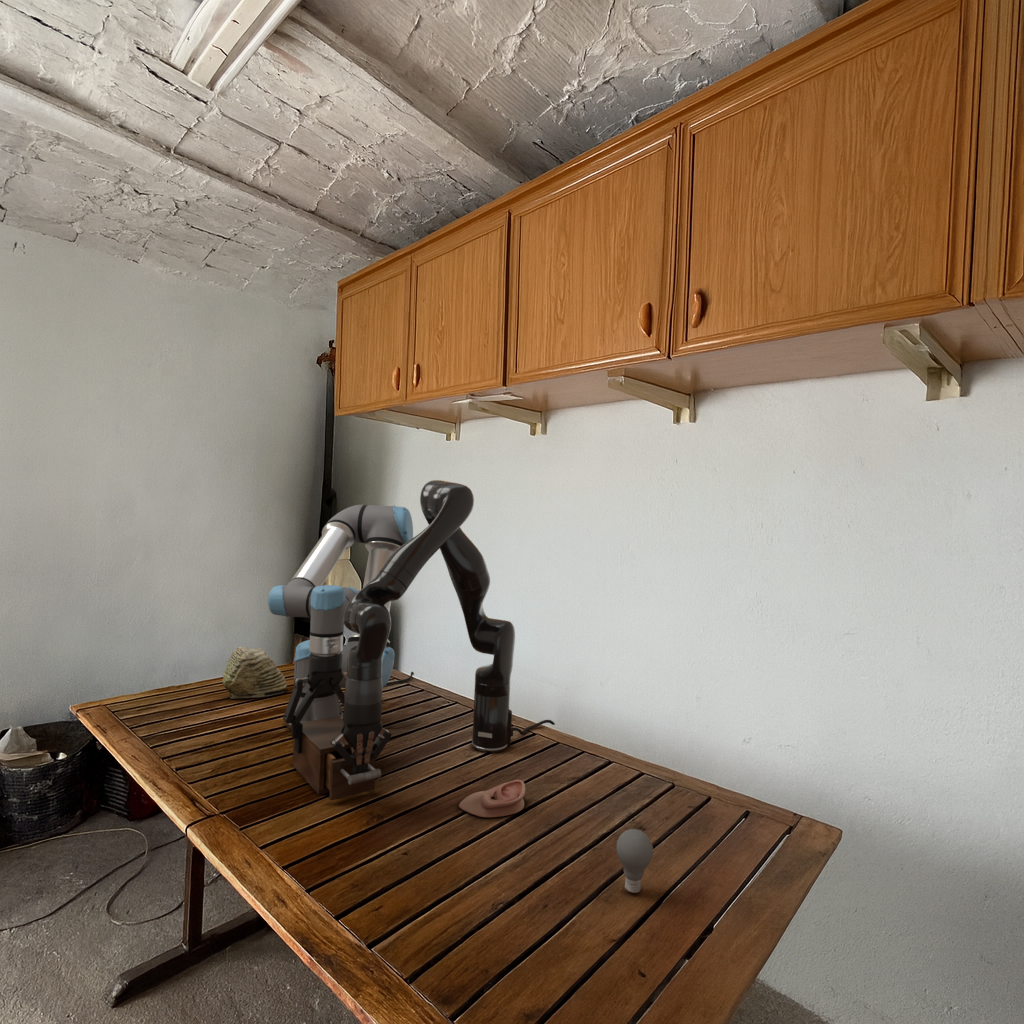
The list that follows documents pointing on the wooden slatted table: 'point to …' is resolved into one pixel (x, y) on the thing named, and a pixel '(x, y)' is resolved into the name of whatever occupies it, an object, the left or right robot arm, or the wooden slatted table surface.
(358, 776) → the drawer
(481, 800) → the anatomical model
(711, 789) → the wooden slatted table surface
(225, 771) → the wooden slatted table surface
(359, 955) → the wooden slatted table surface
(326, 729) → the cabinet
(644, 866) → the light bulb
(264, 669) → the fossil
